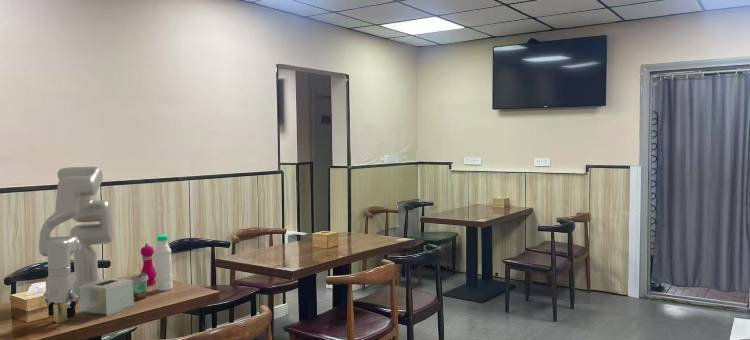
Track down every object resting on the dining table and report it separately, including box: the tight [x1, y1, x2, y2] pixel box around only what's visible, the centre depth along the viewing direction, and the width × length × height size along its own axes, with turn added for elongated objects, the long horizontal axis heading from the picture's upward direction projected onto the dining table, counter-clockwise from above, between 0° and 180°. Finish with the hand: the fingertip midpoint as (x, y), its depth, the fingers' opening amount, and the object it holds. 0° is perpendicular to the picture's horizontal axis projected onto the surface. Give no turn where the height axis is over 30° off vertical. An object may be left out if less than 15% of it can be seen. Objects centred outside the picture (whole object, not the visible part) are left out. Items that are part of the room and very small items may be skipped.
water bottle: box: [154, 234, 174, 292], centre depth 264 cm, size 7×7×25 cm
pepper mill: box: [139, 242, 157, 287], centre depth 275 cm, size 7×7×20 cm
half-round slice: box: [127, 272, 149, 302], centre depth 249 cm, size 12×6×10 cm, turn 168°
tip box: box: [79, 277, 135, 317], centre depth 234 cm, size 14×14×11 cm
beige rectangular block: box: [53, 303, 71, 324], centre depth 220 cm, size 2×5×7 cm, turn 158°
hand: (62, 316), depth 220 cm, fingers open, 9 cm apart
